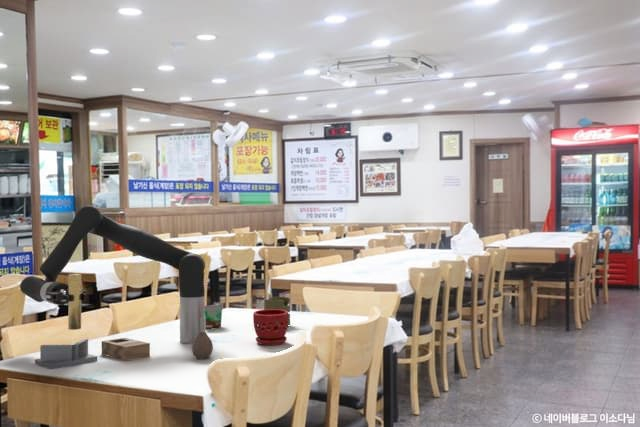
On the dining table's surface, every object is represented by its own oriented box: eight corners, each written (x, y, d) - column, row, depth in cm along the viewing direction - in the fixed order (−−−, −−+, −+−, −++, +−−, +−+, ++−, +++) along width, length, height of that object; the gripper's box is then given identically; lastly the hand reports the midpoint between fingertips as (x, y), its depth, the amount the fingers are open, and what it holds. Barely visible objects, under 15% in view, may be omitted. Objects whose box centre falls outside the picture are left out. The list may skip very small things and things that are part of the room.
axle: (82, 327, 225) (83, 273, 225) (78, 329, 221) (79, 275, 221) (70, 327, 225) (71, 273, 225) (66, 329, 221) (67, 274, 221)
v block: (98, 361, 223) (98, 341, 223) (50, 369, 211) (50, 348, 211) (81, 356, 231) (81, 337, 231) (34, 364, 219) (34, 344, 219)
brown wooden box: (101, 354, 234) (101, 341, 234) (124, 350, 240) (124, 337, 240) (126, 360, 223) (126, 347, 223) (149, 356, 229) (149, 343, 229)
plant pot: (248, 341, 255) (248, 310, 255) (281, 339, 261) (281, 308, 261) (259, 347, 243) (259, 314, 243) (293, 345, 249) (293, 312, 249)
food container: (217, 330, 282) (217, 306, 282) (203, 329, 283) (203, 305, 283) (227, 325, 294) (227, 302, 294) (214, 325, 295) (214, 302, 295)
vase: (203, 361, 222) (203, 334, 222) (187, 359, 225) (187, 332, 225) (217, 357, 227) (216, 331, 227) (201, 355, 231) (201, 329, 231)
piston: (258, 299, 289) (274, 296, 299) (258, 326, 289) (274, 323, 299) (279, 300, 283) (295, 297, 293) (279, 329, 283) (295, 325, 293)
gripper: (35, 283, 228) (58, 287, 216) (75, 280, 238) (99, 284, 226) (35, 305, 228) (57, 311, 216) (75, 301, 238) (99, 307, 227)
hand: (78, 297), depth 221 cm, fingers closed on axle, 4 cm apart
